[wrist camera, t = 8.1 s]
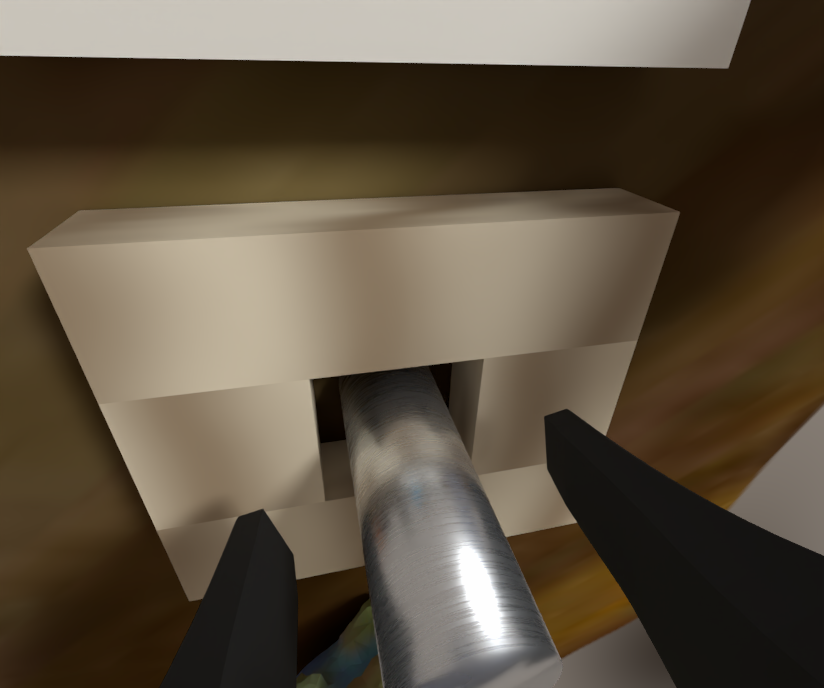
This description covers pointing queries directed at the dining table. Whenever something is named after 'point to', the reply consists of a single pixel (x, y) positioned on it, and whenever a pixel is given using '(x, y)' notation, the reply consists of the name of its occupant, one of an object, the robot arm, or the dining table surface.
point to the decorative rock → (347, 658)
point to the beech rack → (345, 344)
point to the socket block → (382, 30)
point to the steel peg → (435, 546)
